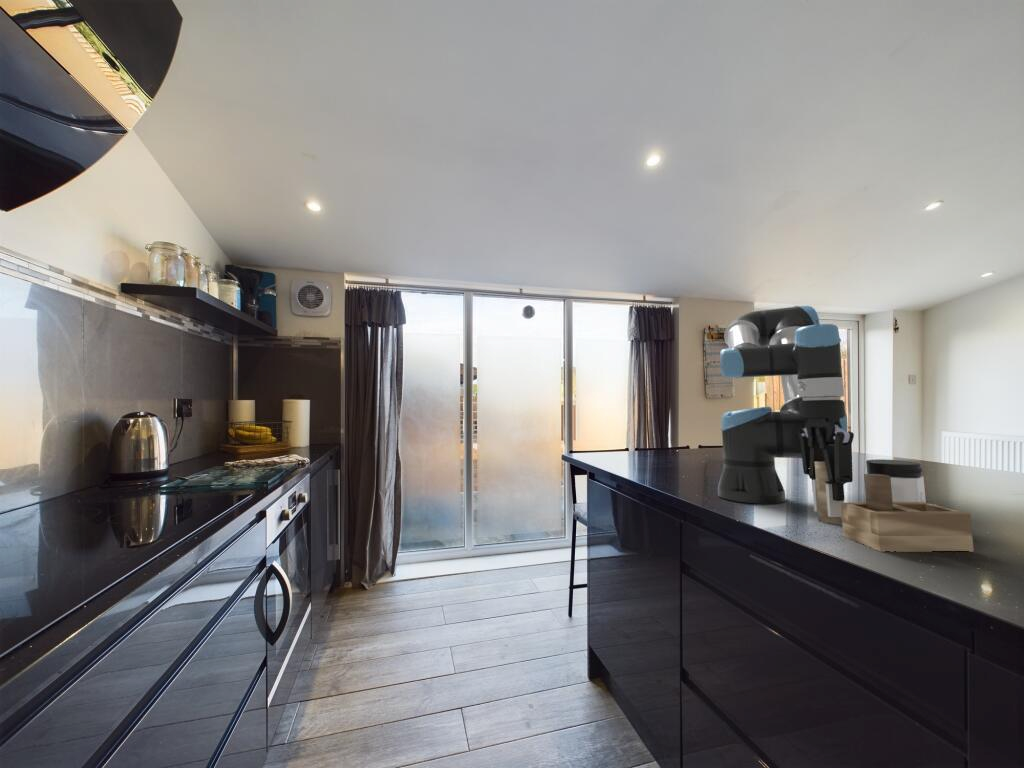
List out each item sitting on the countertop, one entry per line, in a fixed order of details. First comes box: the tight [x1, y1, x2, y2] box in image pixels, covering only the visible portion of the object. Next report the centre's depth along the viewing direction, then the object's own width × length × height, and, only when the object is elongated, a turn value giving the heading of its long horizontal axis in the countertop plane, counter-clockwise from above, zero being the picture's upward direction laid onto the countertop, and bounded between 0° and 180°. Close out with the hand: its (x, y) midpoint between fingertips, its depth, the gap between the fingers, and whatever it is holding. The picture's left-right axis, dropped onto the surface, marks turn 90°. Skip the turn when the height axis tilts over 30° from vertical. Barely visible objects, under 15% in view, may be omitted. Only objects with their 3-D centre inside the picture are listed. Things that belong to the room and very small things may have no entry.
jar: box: [865, 458, 927, 503], centre depth 81 cm, size 9×8×12 cm
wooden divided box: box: [841, 501, 975, 553], centre depth 69 cm, size 8×14×6 cm, turn 86°
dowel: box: [815, 461, 842, 525], centre depth 83 cm, size 4×4×12 cm
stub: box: [863, 473, 893, 512], centre depth 69 cm, size 3×3×9 cm
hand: (829, 513), depth 83 cm, fingers closed on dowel, 3 cm apart
